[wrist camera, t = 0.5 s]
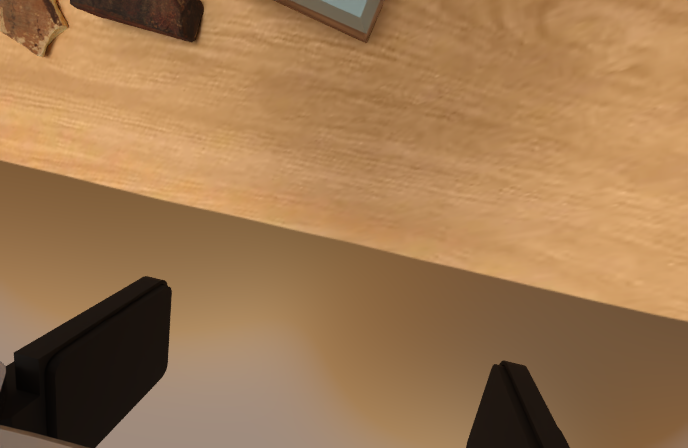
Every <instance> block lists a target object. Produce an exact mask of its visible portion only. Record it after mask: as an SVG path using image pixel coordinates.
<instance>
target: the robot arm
mask: <svg viewBox="0 0 688 448" xmlns="http://www.w3.org/2000/svg"><path fill="white" fill-rule="evenodd" d="M171 295H172V291H171V288H170V287H168V286H167V282H166V281H165V280H160V279H156V278H152V277H147V276H145V277H142V278H141V279H139V280H137V281H136V282H134V283H132V284H130V285H129V286H127V287H125V288H124V289H122V290H120V291H118V292H117V293H115V294H113V295H112V296H110V297H108V298H106V299H105V300H103V301H102V302H100V303H98V304H96V305H95V306H93V307H91V308H89V309H88V310H86V311H84V312H83V313H81V314H79V315H77V316H76V317H74V318H72V319H71V320H69V321H67V322H65V323H64V324H62V325H60V326H59V327H57V328H55V329H54V330H52V331H50V332H48V333H47V334H45V335H43V336H42V337H40V338H38V339H36V340H35V341H33V342H31V343H30V344H28V345H26V346H24V347H23V348H21V349H20V350H18V351H16V352H14V362H12V363H11V364H9V365H7V366H5V365H4V364H3V363H2V362H0V448H95V447H96V446H97V445H98V444H99V443H100V442H101V441H102V440H103V439H104V438H105V437H106V436H107V435H108V434H109V433H110V432H111V431H112V430H113V428H114V427H115V426H116V425H117V424H118V423H119V422H120V421H121V420H122V419H123V418H124V417H125V416H126V415H127V414H128V413H129V411H131V409H132V408H133V407H134V406H135V405H136V404H137V403H138V402H139V401H140V400H141V399H142V398H143V397H144V396H145V395H146V394H147V393H148V391H150V390H151V389H152V387H153V386H154V385H155V384H156V383H157V382H158V381H159V380H160V379H161V378H162V377H163V375H164V373H165V371H166V369H167V363H168V347H169V330H170V312H171ZM466 448H570V447H569V445H568V443H567V441H566V439H565V437H564V436H563V434H562V432H561V430H560V429H559V428H558V427H557V425H556V423H555V421H554V419H553V417H552V415H551V413H550V411H549V409H548V408H547V406H546V404H545V402H544V400H543V398H542V396H541V394H540V392H539V390H538V388H537V386H536V384H535V382H534V381H533V379H532V377H531V375H530V373H529V371H528V369H527V367H526V366H524V365H520V364H516V363H512V362H508V361H502V362H501V363H500V364H499V365H497V364H494V365H493V367H492V369H491V372H490V375H489V378H488V381H487V384H486V387H485V390H484V393H483V396H482V399H481V402H480V405H479V408H478V411H477V414H476V418H475V420H474V423H473V426H472V429H471V432H470V435H469V438H468V442H467V446H466Z"/></svg>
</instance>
